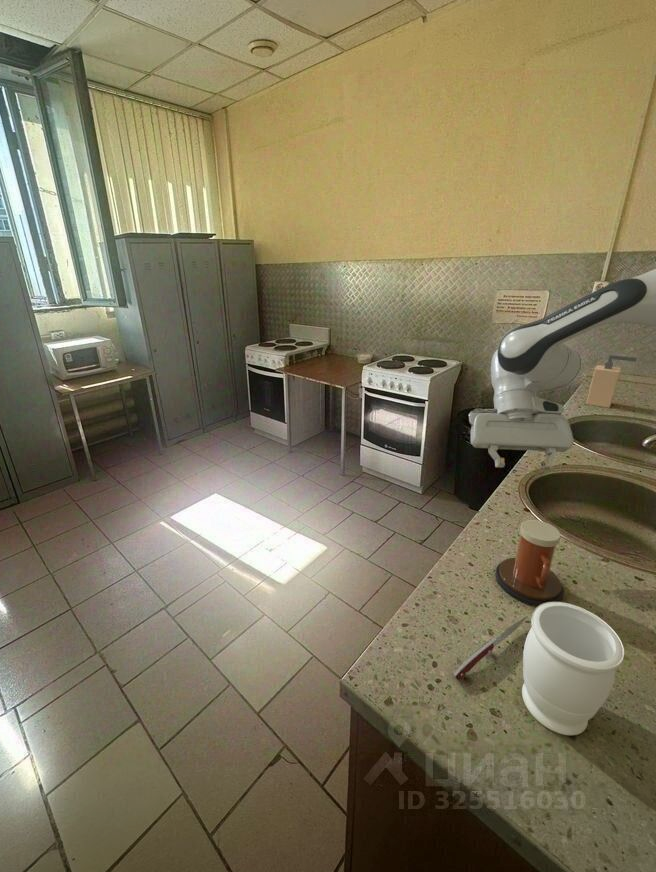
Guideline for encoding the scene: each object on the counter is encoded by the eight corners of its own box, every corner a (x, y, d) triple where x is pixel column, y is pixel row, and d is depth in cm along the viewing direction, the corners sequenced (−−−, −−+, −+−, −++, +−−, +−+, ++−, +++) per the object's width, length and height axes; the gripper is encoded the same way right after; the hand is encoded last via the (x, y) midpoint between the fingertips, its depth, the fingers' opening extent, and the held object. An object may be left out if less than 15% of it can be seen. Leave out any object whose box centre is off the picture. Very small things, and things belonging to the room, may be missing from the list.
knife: (456, 687, 62) (458, 673, 60) (449, 680, 63) (451, 667, 61) (529, 625, 71) (532, 613, 70) (522, 620, 72) (525, 608, 71)
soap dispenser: (585, 404, 177) (598, 355, 169) (588, 399, 183) (600, 352, 175) (621, 409, 169) (636, 359, 161) (623, 404, 175) (637, 355, 167)
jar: (531, 659, 65) (549, 589, 60) (606, 708, 58) (634, 634, 53) (501, 702, 59) (518, 628, 54) (581, 764, 52) (610, 686, 46)
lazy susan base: (547, 565, 85) (548, 561, 85) (573, 610, 74) (575, 606, 74) (488, 560, 87) (489, 556, 87) (505, 603, 76) (506, 599, 76)
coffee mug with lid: (492, 558, 86) (501, 511, 82) (547, 562, 84) (559, 515, 80) (508, 597, 76) (519, 546, 72) (571, 603, 74) (586, 551, 70)
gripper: (471, 402, 89) (476, 460, 84) (571, 405, 86) (582, 466, 80) (464, 413, 95) (468, 469, 89) (557, 417, 91) (567, 474, 86)
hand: (523, 468), depth 85 cm, fingers open, 8 cm apart
